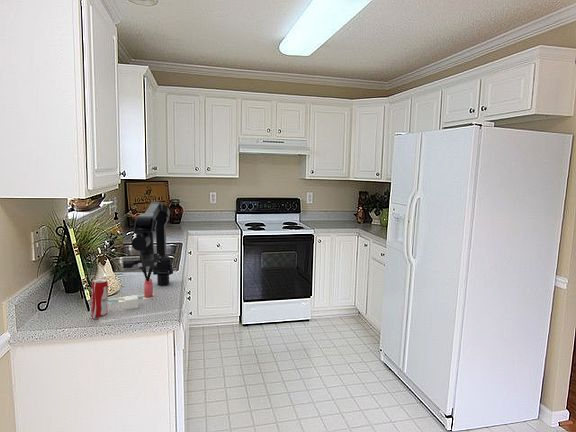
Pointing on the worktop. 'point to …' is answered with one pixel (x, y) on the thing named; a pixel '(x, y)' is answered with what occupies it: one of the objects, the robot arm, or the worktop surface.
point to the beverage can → (99, 298)
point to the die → (131, 302)
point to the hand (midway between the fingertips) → (147, 281)
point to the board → (116, 300)
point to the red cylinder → (148, 288)
